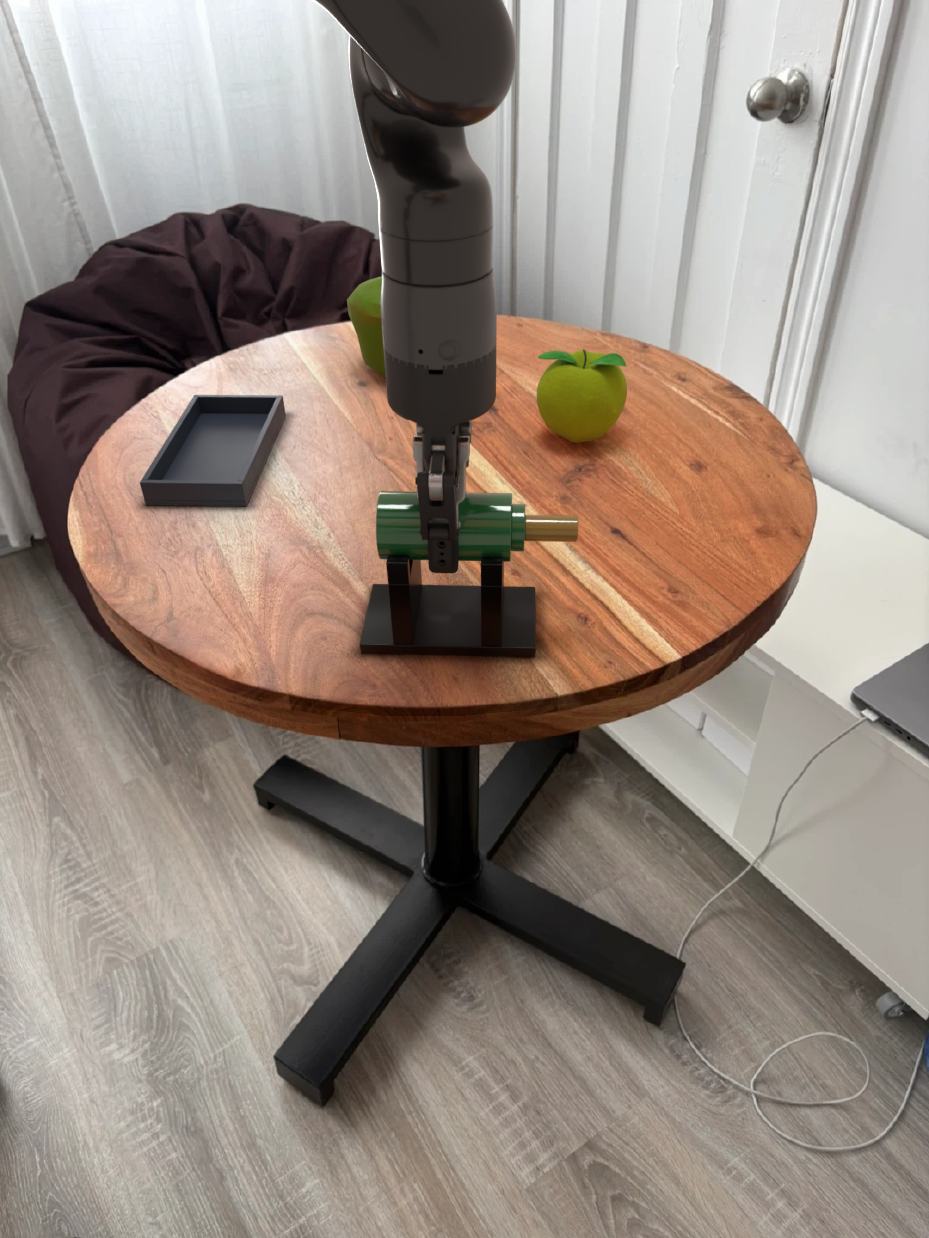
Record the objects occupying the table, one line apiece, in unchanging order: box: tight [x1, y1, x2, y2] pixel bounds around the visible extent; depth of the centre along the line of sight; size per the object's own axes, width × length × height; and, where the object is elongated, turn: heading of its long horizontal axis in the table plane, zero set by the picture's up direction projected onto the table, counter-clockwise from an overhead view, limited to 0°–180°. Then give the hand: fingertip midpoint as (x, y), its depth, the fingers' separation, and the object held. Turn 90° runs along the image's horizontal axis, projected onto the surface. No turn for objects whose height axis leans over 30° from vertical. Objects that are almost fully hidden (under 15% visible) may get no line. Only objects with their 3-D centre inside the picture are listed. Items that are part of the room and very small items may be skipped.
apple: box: [346, 275, 386, 378], centre depth 112 cm, size 12×12×11 cm
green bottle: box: [375, 490, 579, 563], centre depth 70 cm, size 15×5×5 cm, turn 87°
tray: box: [139, 394, 287, 507], centre depth 98 cm, size 19×10×3 cm, turn 177°
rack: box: [359, 555, 537, 658], centre depth 74 cm, size 14×8×9 cm, turn 87°
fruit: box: [536, 348, 628, 444], centre depth 98 cm, size 9×9×10 cm
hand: (446, 547), depth 72 cm, fingers closed on green bottle, 5 cm apart
